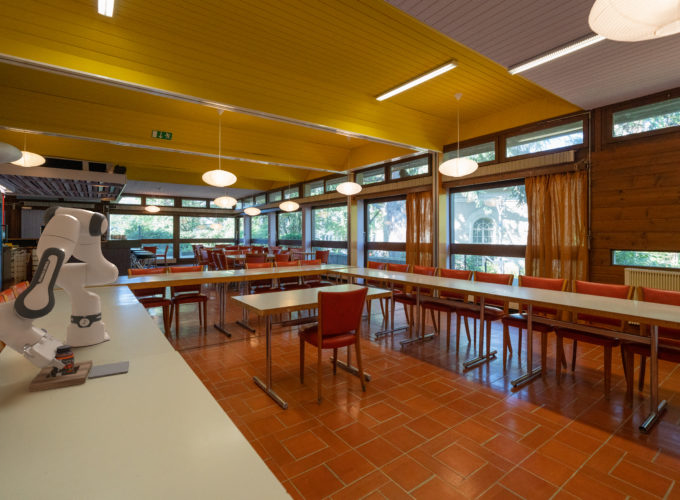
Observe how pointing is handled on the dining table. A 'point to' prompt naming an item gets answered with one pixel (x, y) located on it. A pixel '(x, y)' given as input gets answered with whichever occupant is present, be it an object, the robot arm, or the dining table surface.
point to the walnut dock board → (60, 377)
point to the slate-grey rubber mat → (109, 369)
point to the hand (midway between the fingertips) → (65, 363)
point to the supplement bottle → (64, 361)
